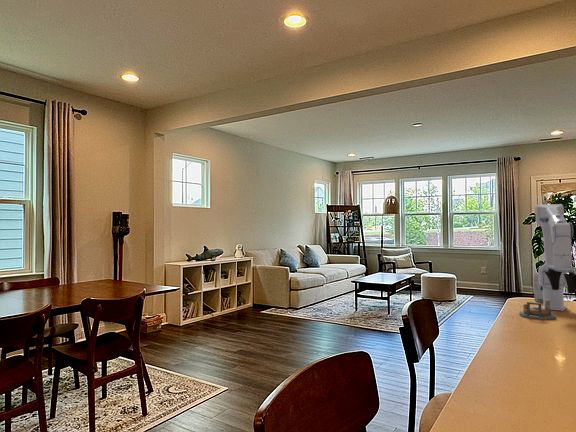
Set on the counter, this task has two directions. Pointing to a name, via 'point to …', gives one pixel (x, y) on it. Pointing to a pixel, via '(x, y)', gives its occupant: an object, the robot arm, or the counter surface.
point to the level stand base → (540, 316)
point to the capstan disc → (536, 310)
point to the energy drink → (537, 290)
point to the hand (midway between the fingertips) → (563, 291)
